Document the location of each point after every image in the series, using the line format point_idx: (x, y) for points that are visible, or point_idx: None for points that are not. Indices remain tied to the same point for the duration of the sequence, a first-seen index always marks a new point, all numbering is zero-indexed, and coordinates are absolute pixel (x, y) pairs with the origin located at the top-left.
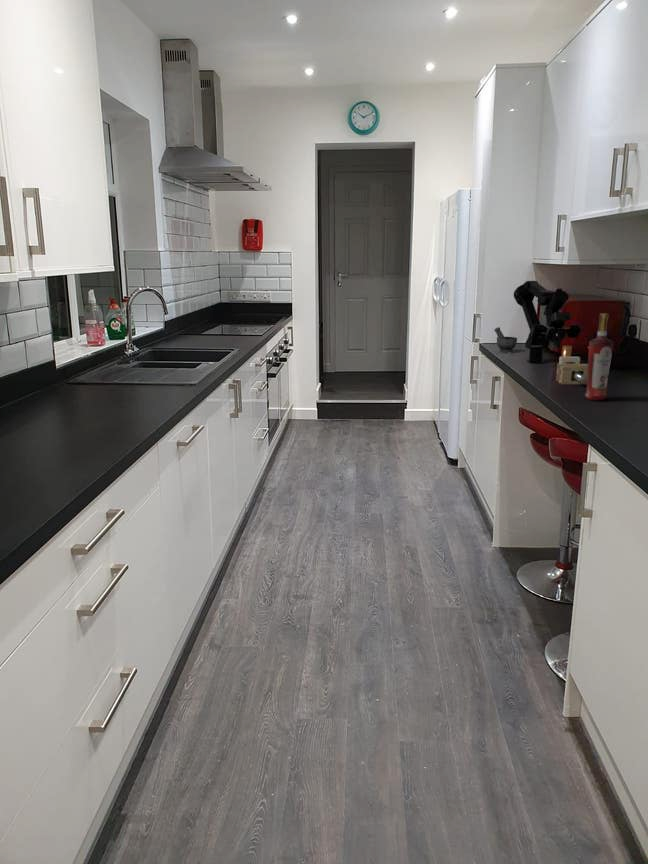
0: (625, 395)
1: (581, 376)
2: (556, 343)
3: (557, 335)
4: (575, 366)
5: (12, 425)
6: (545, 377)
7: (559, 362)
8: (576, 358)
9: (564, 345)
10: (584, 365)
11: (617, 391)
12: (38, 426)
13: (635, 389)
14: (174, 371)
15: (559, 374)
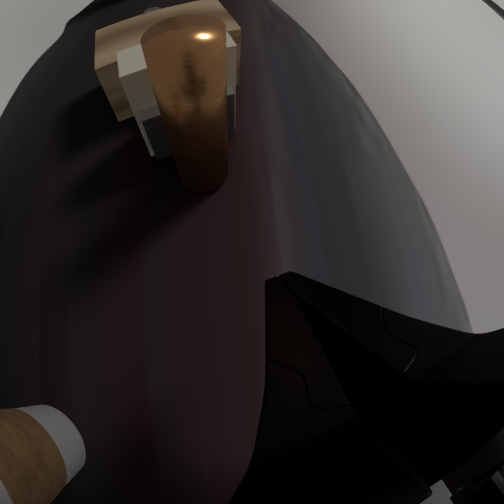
0: (80, 23)
1: (156, 7)
2: (326, 285)
3: None
4: (164, 13)
5: (501, 8)
6: (292, 136)
7: (233, 67)
8: (138, 48)
9: (204, 46)
10: (120, 38)
11: (78, 41)
12: (494, 3)
13: (27, 79)
14: None
15: None
